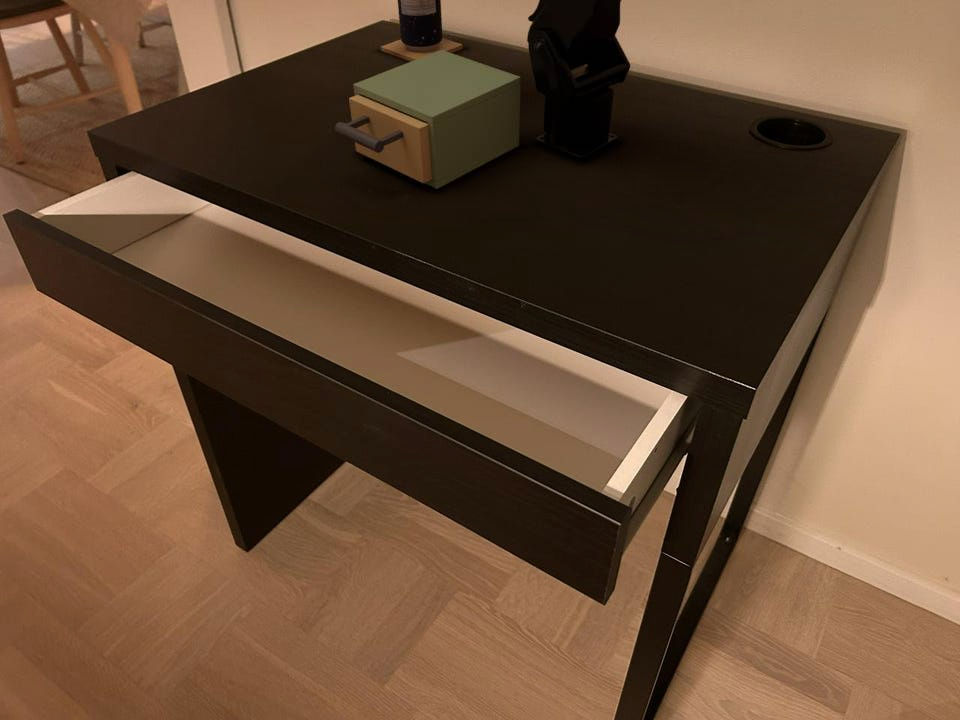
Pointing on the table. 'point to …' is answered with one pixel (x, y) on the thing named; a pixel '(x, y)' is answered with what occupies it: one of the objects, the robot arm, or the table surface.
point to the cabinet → (453, 109)
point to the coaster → (403, 52)
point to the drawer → (389, 137)
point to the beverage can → (420, 24)
